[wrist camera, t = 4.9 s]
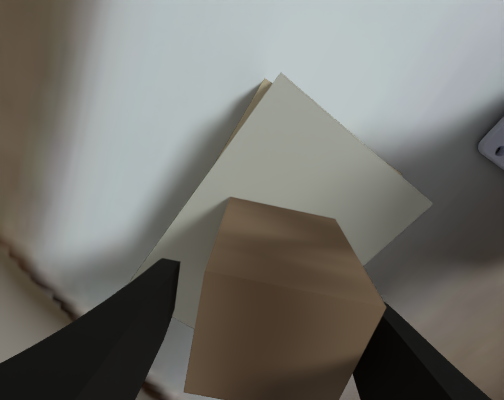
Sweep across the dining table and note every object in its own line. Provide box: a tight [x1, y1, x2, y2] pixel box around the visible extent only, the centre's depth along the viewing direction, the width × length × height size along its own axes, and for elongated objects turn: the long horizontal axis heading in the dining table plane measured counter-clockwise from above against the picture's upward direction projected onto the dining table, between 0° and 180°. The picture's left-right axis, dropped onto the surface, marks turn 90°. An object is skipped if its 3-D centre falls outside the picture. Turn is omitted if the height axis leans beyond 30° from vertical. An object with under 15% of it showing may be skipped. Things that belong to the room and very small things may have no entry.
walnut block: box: [184, 197, 386, 400], centre depth 9 cm, size 4×4×5 cm
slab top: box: [128, 73, 433, 329], centre depth 13 cm, size 8×12×2 cm, turn 143°
